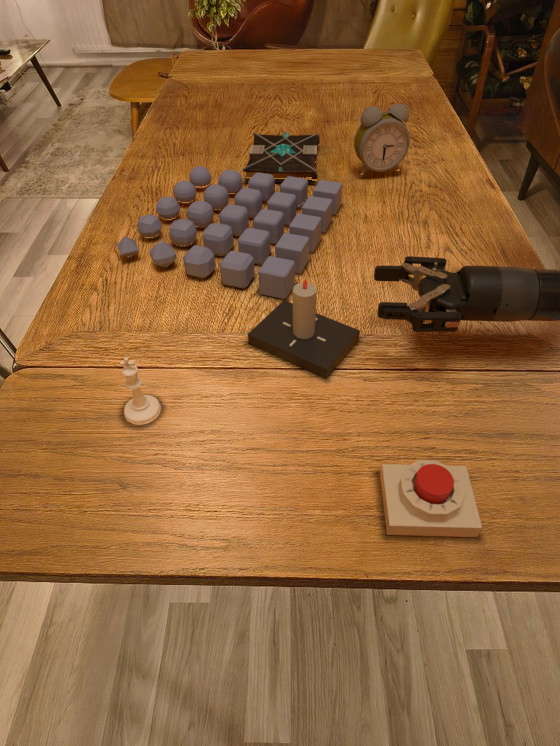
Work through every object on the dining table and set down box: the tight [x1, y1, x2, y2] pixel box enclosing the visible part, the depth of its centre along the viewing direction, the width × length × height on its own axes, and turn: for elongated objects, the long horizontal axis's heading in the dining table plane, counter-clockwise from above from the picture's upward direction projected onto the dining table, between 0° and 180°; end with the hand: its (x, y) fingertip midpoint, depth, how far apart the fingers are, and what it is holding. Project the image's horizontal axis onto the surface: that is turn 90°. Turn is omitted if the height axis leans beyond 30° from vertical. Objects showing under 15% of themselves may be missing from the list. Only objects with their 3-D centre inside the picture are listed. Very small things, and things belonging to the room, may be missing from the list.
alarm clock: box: [353, 103, 411, 179], centre depth 115 cm, size 12×7×15 cm, turn 102°
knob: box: [292, 280, 318, 339], centre depth 75 cm, size 3×3×8 cm
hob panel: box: [247, 299, 361, 380], centre depth 79 cm, size 14×10×2 cm
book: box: [241, 131, 321, 186], centre depth 122 cm, size 22×17×5 cm
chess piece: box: [119, 357, 162, 426], centre depth 67 cm, size 5×5×10 cm
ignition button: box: [414, 464, 454, 504], centre depth 57 cm, size 4×4×2 cm
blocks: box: [116, 165, 343, 300], centre depth 101 cm, size 35×34×5 cm
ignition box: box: [379, 459, 483, 538], centre depth 59 cm, size 10×8×4 cm
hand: (376, 291), depth 72 cm, fingers open, 8 cm apart
